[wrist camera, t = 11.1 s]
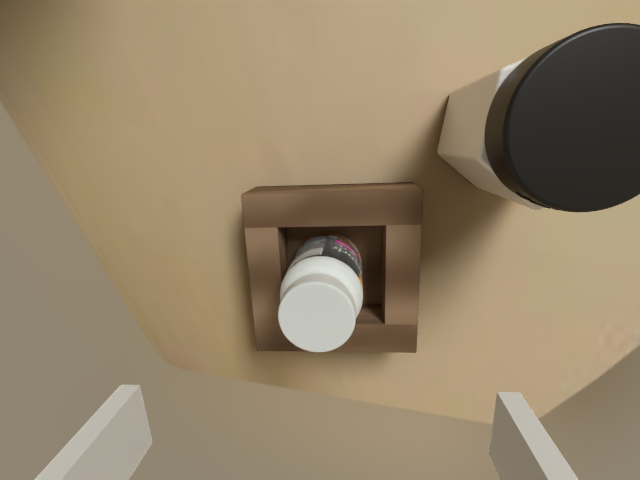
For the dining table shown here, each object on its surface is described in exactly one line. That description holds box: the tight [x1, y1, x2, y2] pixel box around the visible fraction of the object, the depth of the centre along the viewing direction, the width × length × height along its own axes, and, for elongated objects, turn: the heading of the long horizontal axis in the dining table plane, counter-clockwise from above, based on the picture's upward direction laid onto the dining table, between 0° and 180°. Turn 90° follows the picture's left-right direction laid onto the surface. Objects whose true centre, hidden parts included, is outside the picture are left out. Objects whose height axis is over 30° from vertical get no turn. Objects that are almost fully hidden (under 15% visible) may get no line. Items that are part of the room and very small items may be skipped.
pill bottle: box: [278, 232, 363, 352], centre depth 25 cm, size 6×6×10 cm
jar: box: [437, 23, 640, 212], centre depth 21 cm, size 9×8×12 cm
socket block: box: [241, 182, 423, 353], centre depth 29 cm, size 13×13×4 cm
